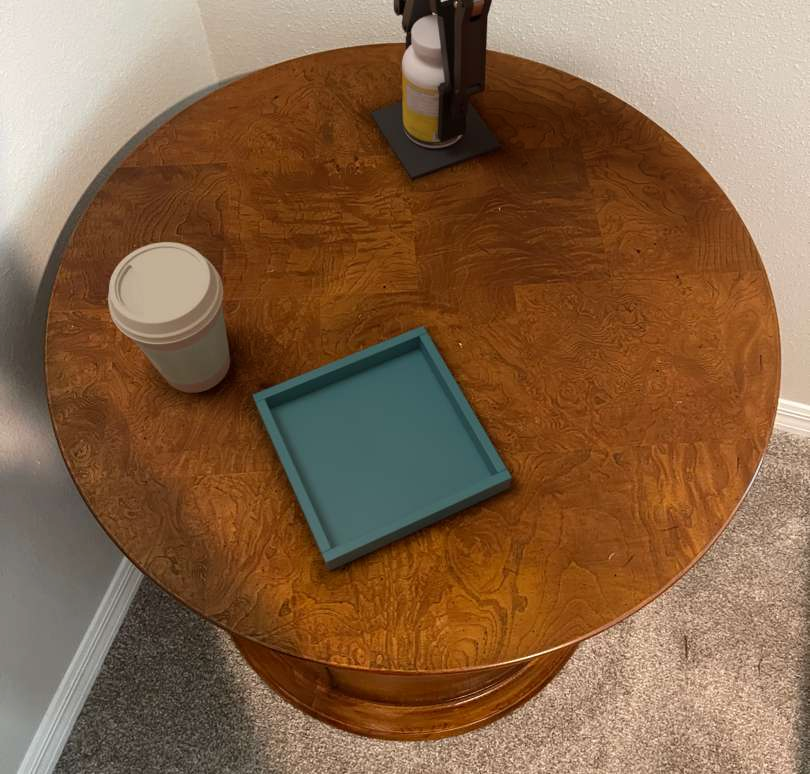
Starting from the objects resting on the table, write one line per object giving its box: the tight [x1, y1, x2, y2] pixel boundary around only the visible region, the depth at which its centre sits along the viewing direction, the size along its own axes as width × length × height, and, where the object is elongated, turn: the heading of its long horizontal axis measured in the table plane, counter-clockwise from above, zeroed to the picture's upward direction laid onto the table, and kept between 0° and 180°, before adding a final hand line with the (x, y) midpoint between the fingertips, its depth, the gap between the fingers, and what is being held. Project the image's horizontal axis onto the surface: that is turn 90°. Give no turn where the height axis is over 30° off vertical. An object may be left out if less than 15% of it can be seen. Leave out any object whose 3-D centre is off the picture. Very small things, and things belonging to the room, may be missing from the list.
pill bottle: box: [401, 14, 467, 148], centre depth 79 cm, size 6×6×12 cm
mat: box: [369, 101, 501, 181], centre depth 85 cm, size 10×10×1 cm
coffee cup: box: [107, 241, 231, 394], centre depth 66 cm, size 8×8×12 cm
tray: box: [252, 325, 512, 572], centre depth 66 cm, size 16×16×2 cm
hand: (435, 111), depth 82 cm, fingers closed on pill bottle, 6 cm apart
